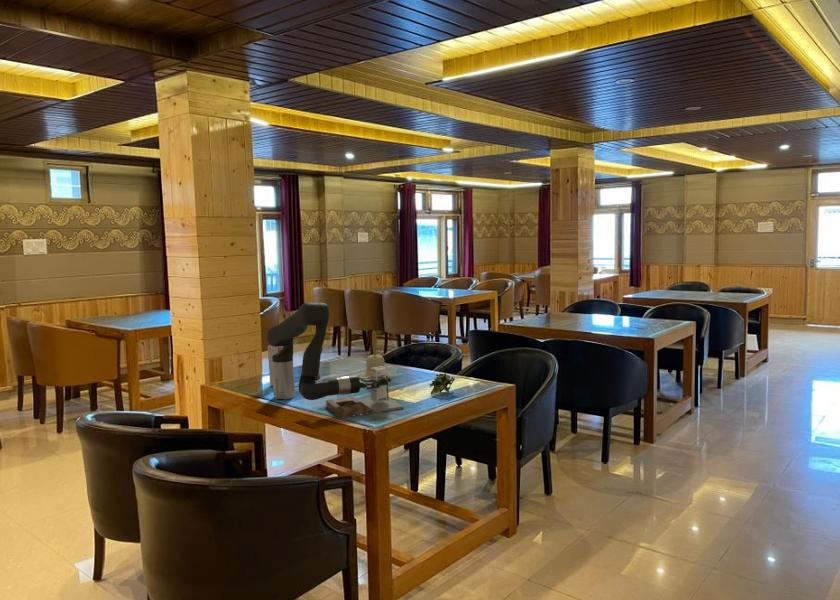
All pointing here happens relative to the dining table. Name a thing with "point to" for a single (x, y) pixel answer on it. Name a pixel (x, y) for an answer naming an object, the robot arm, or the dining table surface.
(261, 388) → the dining table surface
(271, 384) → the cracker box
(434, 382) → the green leafy plant
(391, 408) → the slate tile
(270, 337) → the robot arm
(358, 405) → the pocket block
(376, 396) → the syrup box
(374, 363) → the handbell
